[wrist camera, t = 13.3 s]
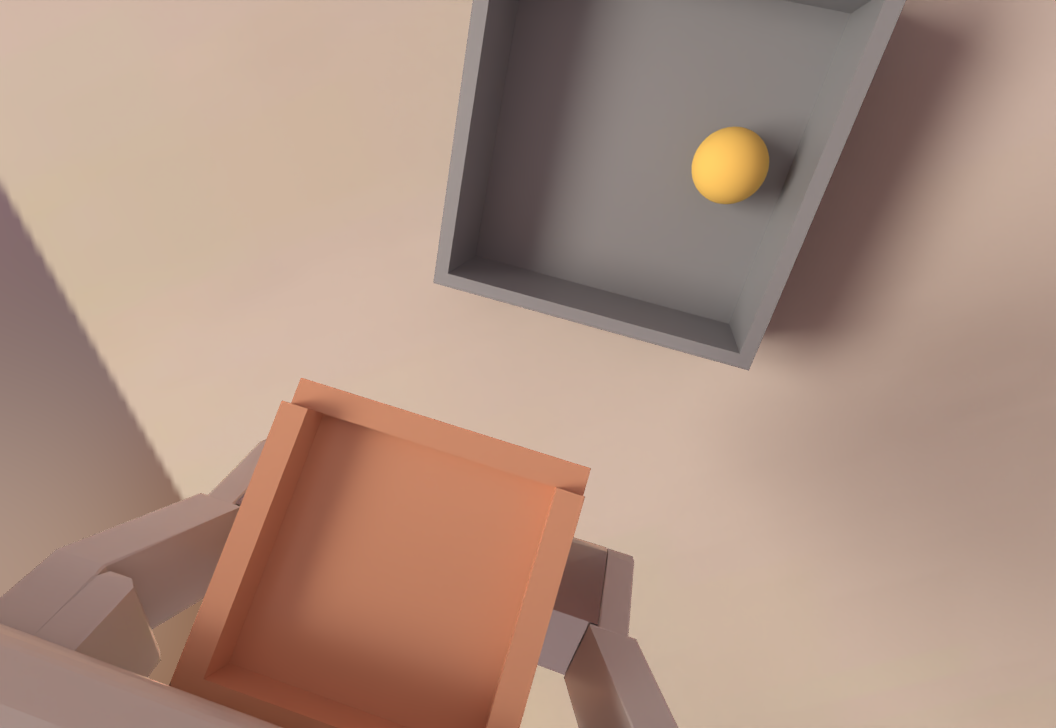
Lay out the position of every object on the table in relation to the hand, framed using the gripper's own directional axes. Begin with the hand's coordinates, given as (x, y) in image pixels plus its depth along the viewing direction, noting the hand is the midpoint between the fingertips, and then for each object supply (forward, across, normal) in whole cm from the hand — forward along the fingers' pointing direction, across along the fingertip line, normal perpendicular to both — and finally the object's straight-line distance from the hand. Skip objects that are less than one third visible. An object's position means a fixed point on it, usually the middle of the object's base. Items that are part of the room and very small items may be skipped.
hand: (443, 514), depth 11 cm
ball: (+18, -5, -4) cm, 19 cm away
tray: (+20, -2, -3) cm, 20 cm away
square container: (+4, 0, +5) cm, 6 cm away
